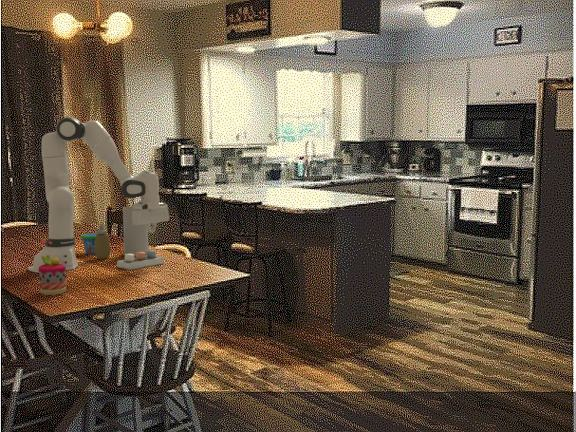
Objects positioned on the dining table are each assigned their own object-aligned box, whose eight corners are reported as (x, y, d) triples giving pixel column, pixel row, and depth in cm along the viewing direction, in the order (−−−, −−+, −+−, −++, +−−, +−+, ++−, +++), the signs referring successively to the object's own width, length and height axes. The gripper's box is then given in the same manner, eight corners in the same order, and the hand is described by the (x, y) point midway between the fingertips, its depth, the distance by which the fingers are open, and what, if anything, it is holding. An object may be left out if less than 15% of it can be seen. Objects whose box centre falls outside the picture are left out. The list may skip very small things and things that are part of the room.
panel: (129, 270, 297) (129, 263, 297) (117, 267, 304) (117, 260, 303) (163, 263, 313) (163, 257, 312) (150, 260, 319) (150, 255, 319)
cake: (70, 289, 260) (69, 253, 258) (62, 295, 250) (60, 258, 248) (44, 289, 260) (43, 253, 258) (35, 295, 249) (33, 258, 247)
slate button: (150, 258, 310) (150, 251, 309) (144, 256, 313) (144, 250, 312) (157, 256, 313) (157, 250, 313) (152, 255, 316) (152, 249, 315)
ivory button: (128, 261, 300) (128, 255, 299) (122, 260, 303) (122, 254, 302) (136, 260, 303) (135, 254, 303) (130, 259, 306) (130, 253, 306)
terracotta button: (139, 259, 305) (139, 253, 304) (134, 258, 308) (133, 252, 307) (147, 258, 308) (146, 252, 308) (141, 257, 311) (141, 251, 311)
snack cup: (77, 252, 340) (76, 233, 339) (96, 250, 347) (95, 231, 346) (88, 256, 328) (88, 237, 327) (108, 254, 335) (107, 235, 334)
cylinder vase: (134, 257, 328) (133, 209, 324) (119, 254, 335) (117, 207, 332) (153, 254, 338) (152, 207, 334) (137, 251, 345) (136, 205, 342)
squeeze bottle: (106, 260, 320) (105, 224, 318) (91, 259, 322) (90, 224, 320) (113, 257, 328) (112, 222, 326) (99, 256, 330) (98, 222, 328)
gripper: (163, 201, 319) (164, 228, 321) (129, 205, 304) (130, 234, 306) (171, 202, 315) (172, 230, 317) (137, 206, 300) (138, 235, 302)
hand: (151, 232), depth 311 cm, fingers closed
